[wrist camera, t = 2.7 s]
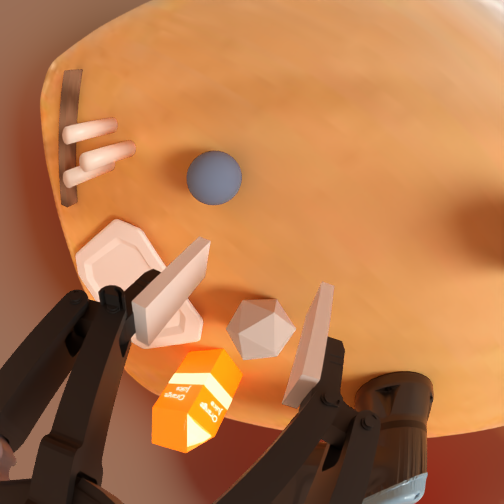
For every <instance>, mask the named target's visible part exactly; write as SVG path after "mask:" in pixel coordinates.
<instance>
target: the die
mask: <svg viewBox="0 0 504 504" xmlns="http://www.w3.org/2000/svg"><path fill="white" fill-rule="evenodd" d="M226 330H227V332H228V334H229V335H230V337H231V339H232V341H233V343H234V344H235V346H236V348H237V350H238V352H239V353H240V355H241V357H242V359H243V360H249V359H259V358H268V357H276V356H278V354H279V353H280V352H281V350H282V349H283V347H284V346H285V344H286V343H287V342H288V340H289V339H290V337H291V336H292V334H293V333H294V331H295V330H296V328H295V326H294V325H293V323H292V322H291V320H290V319H289V317H288V316H287V314H286V313H285V311H284V309H283V308H282V306H281V305H280V303H279V302H278V300H277V299H261V300H242V302H241V304H240V305H239V307H238V309H237V310H236V312H235V314H234V316H233V317H232V319H231V321H230V323H229V324H228V326H227V328H226Z"/></svg>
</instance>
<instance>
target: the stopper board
mask: <svg viewBox="0 0 504 504" xmlns="http://www.w3.org/2000/svg"><path fill="white" fill-rule="evenodd" d="M81 75H82V69H80V70H67V71H64V75H63V83H62V92H61V103H60V118H59V178H60V193H61V204H62V205H63V206H66V207H69V206H71V205H73V204H75V203H77V189H76V185H75V186H73V187H71V188H67V187H66V186H65V184H64V182H63V173H64V172H65V171H67V170H69V169H72V168H75V167H76V142H75V143H71V144H68V145H67V144H65V143H64V141H63V138H62V132H63V129H64V128H65V127H66V126H70V125H75V124H77V112H78V100H79V91H80V83H81Z"/></svg>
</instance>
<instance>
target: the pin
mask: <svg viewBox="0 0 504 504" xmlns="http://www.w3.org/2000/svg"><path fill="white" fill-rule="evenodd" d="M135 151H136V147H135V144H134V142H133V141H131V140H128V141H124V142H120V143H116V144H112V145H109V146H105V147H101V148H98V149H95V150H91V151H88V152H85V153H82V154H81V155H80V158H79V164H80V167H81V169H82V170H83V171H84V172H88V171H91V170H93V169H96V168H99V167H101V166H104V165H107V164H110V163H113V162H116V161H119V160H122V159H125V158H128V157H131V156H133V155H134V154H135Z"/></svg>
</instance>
